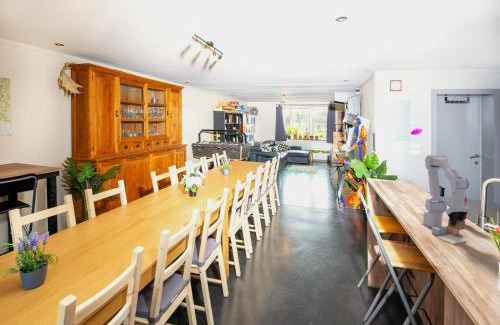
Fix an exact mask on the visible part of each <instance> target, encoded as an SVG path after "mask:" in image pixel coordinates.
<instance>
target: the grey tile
mask: <svg viewBox="0 0 500 325" xmlns="http://www.w3.org/2000/svg"><path fill="white" fill-rule="evenodd" d="M437 239H439V240H441V241H445V242H446V243H449V244H452V245H458V244H462V243H466V239H463V238H461V237H458V236H456V235H450V234H446V235H443V236H437Z"/></svg>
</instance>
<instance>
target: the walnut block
mask: <svg viewBox="0 0 500 325" xmlns="http://www.w3.org/2000/svg"><path fill="white" fill-rule="evenodd" d="M447 220H448V221H447V222H448V224H447V226H449V227H452V228H455V229H457V230H460V231H462V230H465V225H466V221H465V220H464V221H465V222H464V221H461V220H458V219H457V221H456V225H455V226H453V225H451V223H450V219H449V218H448V219H447Z"/></svg>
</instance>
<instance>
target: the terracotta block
mask: <svg viewBox="0 0 500 325" xmlns="http://www.w3.org/2000/svg"><path fill="white" fill-rule="evenodd" d="M445 228H447V231H446V235H448V234H450V235H453V236H456V235H458V234H460V231H461V230H457V229H455V228H452V227H449V226H448V225H446V226H445Z"/></svg>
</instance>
